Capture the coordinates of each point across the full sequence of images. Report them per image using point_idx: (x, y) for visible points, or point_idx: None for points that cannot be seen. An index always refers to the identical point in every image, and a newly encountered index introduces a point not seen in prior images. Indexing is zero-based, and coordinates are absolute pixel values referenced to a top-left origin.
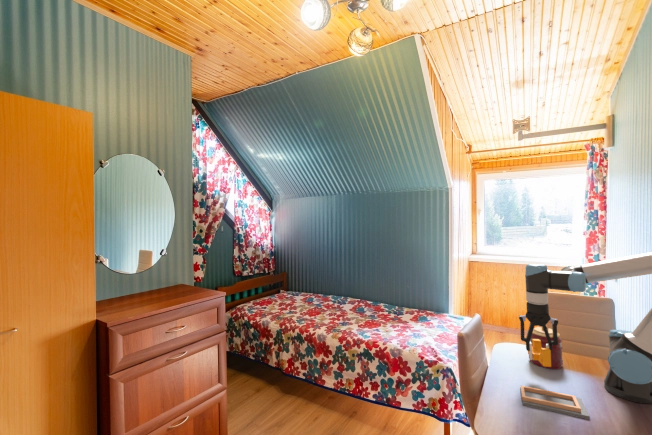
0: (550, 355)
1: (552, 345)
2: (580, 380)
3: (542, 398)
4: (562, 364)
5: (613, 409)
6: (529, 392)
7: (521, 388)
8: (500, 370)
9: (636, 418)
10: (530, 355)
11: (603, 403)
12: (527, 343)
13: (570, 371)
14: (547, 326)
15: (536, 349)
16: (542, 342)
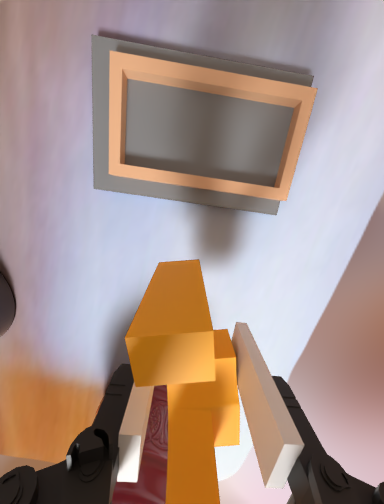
0: (144, 300)
1: (73, 447)
2: (73, 330)
3: (226, 139)
4: (101, 400)
5: (11, 162)
6: (258, 177)
7: (292, 171)
8: (290, 327)
9: None
10: (253, 342)
11: (34, 196)
12: (312, 449)
13: (89, 375)
14: None
15: (204, 411)
16: (137, 502)
